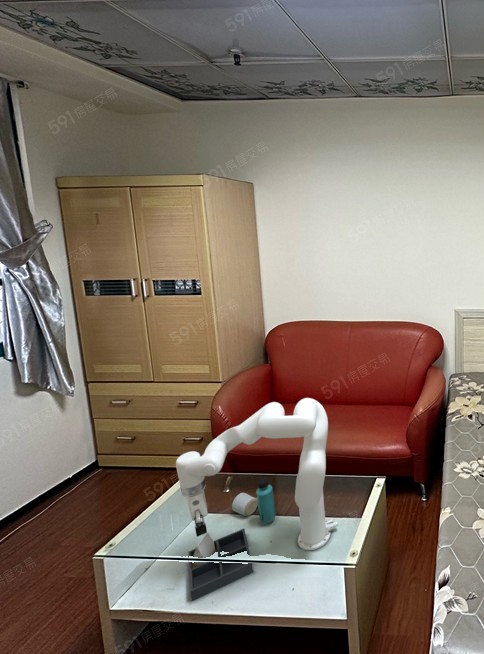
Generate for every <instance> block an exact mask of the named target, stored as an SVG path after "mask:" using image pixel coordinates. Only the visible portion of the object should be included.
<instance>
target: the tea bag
mask: <svg viewBox="0 0 484 654" xmlns="http://www.w3.org/2000/svg"><path fill="white" fill-rule="evenodd" d="M214 541H215V540H213V538H212V536H211V535H210V534H209V532H207V533H205V534H204V536H202V538H201V539H200V541H199V542H198V543H197V545H196V546H195V549H196V550H195V553H194V555H193V557H198V558H206V557H210V556H211V555H213V554H214V553H215V546H214ZM204 563H206V562H194V564H195V567H197V566H199V565H201V564H204Z"/></svg>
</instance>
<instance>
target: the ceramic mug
mask: <svg viewBox="0 0 484 654" xmlns="http://www.w3.org/2000/svg"><path fill="white" fill-rule="evenodd" d="M257 503H258V501H257V497H254V496H252V495H250V494H248V493H246V492H240V493H239V494H237V496H235V497H234V499H233V501H232V503H231V509H232V511H233V512H235V513H237V514H239V515H241V516H245V517H249V516H251V515H253V514H254V513H255V512H256V510H257V509H258V504H257Z"/></svg>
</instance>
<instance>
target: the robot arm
mask: <svg viewBox="0 0 484 654" xmlns="http://www.w3.org/2000/svg"><path fill="white" fill-rule="evenodd" d="M328 433H329V420H328V415H327V412H326V410H325V408H324V407H323V405H322V404H321V402H319V401H318V400H316V399H314V398H312V397H311V398H310V397H304V398H302V399H300V400H299V401H298V402H297V403H296V405H295V406H294V409H293V414H292V415H286V413H285V408H284V406H283V405H282V404H281V403H280V402H276V401H272V402H269V403H267V404H265V405H264V406H263V407H261V408H260V409H259V410H257V411H256V412H255V413H253V414H252V415H251V416H249V417H248V418H247V419H246V420H244V421H243V422H242V423H240V424H238V425H235V426H233V427H230V428H228V429H226V430H225V431H223V432H222V433H221V434H219V435H218V436H217V437H216V438H214V439H212V441H211V442H210V443H208V445H207V446H206V448H205V450H204V452H203V454H200V452H197V451H193V450H192V451H188V452H185V453H182V454H181V455H179V456H178V457H177V459H176V461H175V467H176V472H177V477H178V483H179V488H180V492H181V495H182V496H183V497H185V498H186V502H187V506H188V509H189V515H190V517H191V520H192V521H193V522H194V525H195V526H194V529H195V534H196V537H200V536H203V535H205V534H206V533H208V529H207V524H206V522H205V519H204V518H205V517H207V516H208V514H209V513H208V505H207V504H208V503H207V498H206V493H205V489H206V487H207V483H206V479H205V477H211V476H215V475H217V474H218V473H220V471H221V470H222V468H223V466H224V463H225V460H226V457H227V455H228V453H229V452H230V451H232V450H233V449H234V448H236V447H237V446H238V445H240V444H241V443H243V444H245V445H247V446H250V445H253V444H255V443H256V442H258V440H260V439H261V438H262V437H263V438H266V439H294V438H303V444H302V450H301V453H300V457H299V465H298V473H297V474H296V475H297V476H296V480H295V492H294V502H295V504H296V506H297V507H298V513H299V523H300V533H299V535H298V538H297V543H298V546H299V548H300V549H302V550H305V551H314V550H318V549H320V548H322V547H323V546H324V545H326V544H327V543H328V542H329V540H330V538H331V530H332V529H333V528H336V527H339V523H338V520H336V521H334V520H333V518H332V519H328V520H326V509H325V500H324V499H325V497H324V484H325V479H326V478H325V477H326V469H327V456H326V449H327V441H328ZM305 548H307V549H305Z"/></svg>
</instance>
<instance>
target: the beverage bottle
mask: <svg viewBox="0 0 484 654" xmlns="http://www.w3.org/2000/svg"><path fill="white" fill-rule="evenodd" d="M255 494H256V498H257V501H258V503H257V504H258V506H257V509H258V515H259V516H258V517H259V521H260V523H261V524H269V523H271V522H273V521H274V520H275V519H276V515H277V511H276V504H275V499H274V491H273V486H272V485H271V484H270V482H269V479H268V478H266V477H264V478H261V479H259V480H258V481H257V489H256V491H255Z"/></svg>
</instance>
